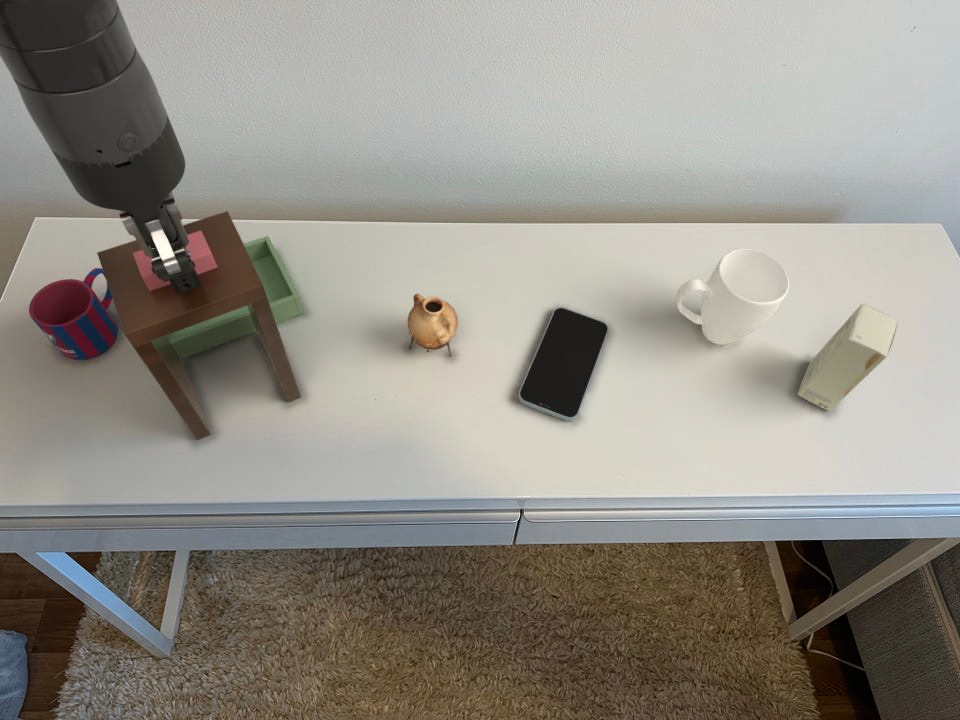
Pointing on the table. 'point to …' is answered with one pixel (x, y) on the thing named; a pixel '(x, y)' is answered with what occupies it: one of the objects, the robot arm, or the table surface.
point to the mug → (737, 295)
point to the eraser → (199, 257)
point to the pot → (432, 323)
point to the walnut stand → (192, 312)
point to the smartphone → (563, 364)
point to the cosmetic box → (848, 357)
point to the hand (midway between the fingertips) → (187, 285)
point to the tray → (240, 321)
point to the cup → (75, 317)
